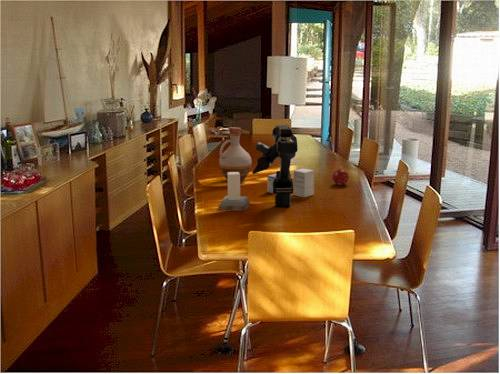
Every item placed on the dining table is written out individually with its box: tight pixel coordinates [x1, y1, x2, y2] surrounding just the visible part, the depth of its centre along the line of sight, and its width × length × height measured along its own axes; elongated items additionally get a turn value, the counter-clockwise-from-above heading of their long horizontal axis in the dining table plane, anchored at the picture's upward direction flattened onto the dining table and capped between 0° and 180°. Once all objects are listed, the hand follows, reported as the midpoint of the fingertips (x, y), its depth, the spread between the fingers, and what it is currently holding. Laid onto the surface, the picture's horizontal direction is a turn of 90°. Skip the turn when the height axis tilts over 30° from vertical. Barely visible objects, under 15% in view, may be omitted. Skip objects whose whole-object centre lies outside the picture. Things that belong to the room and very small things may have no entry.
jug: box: [218, 126, 253, 183], centre depth 293 cm, size 20×18×30 cm
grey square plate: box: [217, 199, 251, 212], centre depth 246 cm, size 12×12×2 cm
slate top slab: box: [220, 195, 248, 206], centre depth 245 cm, size 10×10×2 cm
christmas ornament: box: [332, 166, 350, 186], centre depth 285 cm, size 9×9×10 cm
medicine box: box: [267, 173, 276, 194], centre depth 273 cm, size 8×4×9 cm, turn 141°
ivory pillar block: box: [227, 172, 241, 200], centre depth 244 cm, size 5×5×12 cm
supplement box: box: [293, 168, 315, 198], centre depth 264 cm, size 7×7×13 cm
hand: (254, 171), depth 257 cm, fingers open, 9 cm apart
